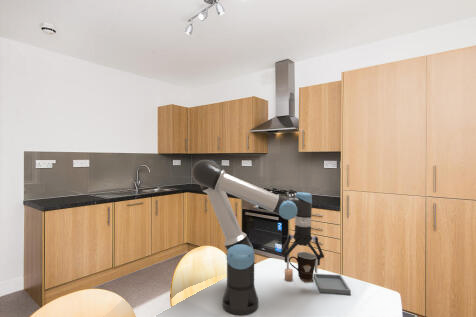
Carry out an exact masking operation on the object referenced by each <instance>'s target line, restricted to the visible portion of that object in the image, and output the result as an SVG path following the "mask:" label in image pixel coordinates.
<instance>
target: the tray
mask: <svg viewBox="0 0 476 317" xmlns="http://www.w3.org/2000/svg"><path fill="white" fill-rule="evenodd" d="M313 281H314V282H315V285H316V287H317V290H318V292H319V294H324V295H325V294H327V295H338V296H339V295H343V296H345V295H346V296H351V295H352V294H351V293H352V292H351V288H350V287H349V285H348V284H347V282H346V281H345V279H344V277H343V276H342V275H341V274H330V273H329V274H325V273H313Z"/></svg>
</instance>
